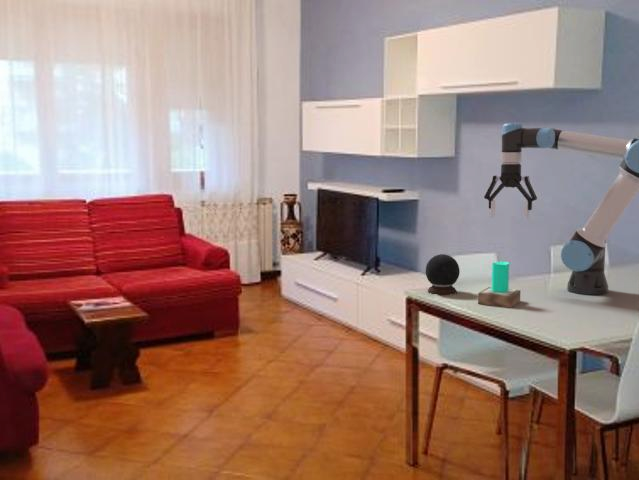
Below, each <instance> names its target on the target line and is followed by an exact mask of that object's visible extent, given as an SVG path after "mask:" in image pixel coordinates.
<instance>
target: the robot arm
mask: <svg viewBox="0 0 639 480" xmlns="http://www.w3.org/2000/svg"><path fill="white" fill-rule="evenodd" d="M526 148H527V149H553V150H560V151H565V152H566V151H567V152H573V153H578V154H583V155H588V156H590V155H591V156H595V157H601V158H607V159H612V160H613V159H614V160H619V161H621V163H620V165H619V166H618V167H619V173H618V175H617V177H616V178H615V180H614V181H613V183H612V184H611V185H610V187H609V188H608V190H607V192H606V193H605V195H604V196H603V198H602V199H601V201H600V202H599V204H598V205H597V207H596V209H594V212H593V213H592V214H591V216H590V217H589V219H588V220H587V221H586V223H585V224H584V226H583V227H581V228H577V229H576V231H575V232H574V234H573V235H572V237H571V238H570V239H569V241H568V242H566V243H565V244H564V245H562V246H563V247H562V248H561V251H560V258H561V261H562V264H563V265H564V266H565V267H566V268H567V269H569V270H570V271H571V274H570V277H569V279H568V281H567V284H566V285H567V286H566V290H567V291H568V292H571V293H573V294H574V293H575V294H578V295H579V294H581V295H591V296H592V295H595V296H596V295H597V296H598V295H605V294H608V293H609V284H608V281H607V277H606V273H605V265H606V263H605V262H606V244H607V240H606V239H607V237H608V236H609V234H610V233H611V231H612V229H613V228H614V227H615V225H616V224H617V222H618V221H619V219H621V217H622V215H623V213H624V212H625V211H626V209H627V208H628V206H629V205H630V204H631V203H632V200H633V199H634V197H635V196H636V195H637V193H638V192H639V138H634V137H633V138H632V139H630V140H629V139H622V138H617V137H616V138H615V137H608V136H602V135H595V134H589V133H582V132H576V131H570V130H560V129H556V128H552V127H533V128H532V127H530V128H529V127H528V128H525V127H523V124H522V122H521V123H515V122H514V123H513V122H512V123H510V122H509V123H504V124H503V125H502V131H501V155H500V157H501V162H500V163H502V164H501V165H500V167H501V168H500V176H498V175H493V176H492V180H491V183H490V184H489V186H488V189H487V191H486V193H485V194H484V196H483V198H484V199H485V200H488V209H490V218H496V217H495V216H496V200H494V199H495V198H496V197H497V196H498V195H499V194H500V192H501V191H502V190H503V189H504V188H512V189H513V188H514V189H515V188H517V189H518V191H519V192H520V193H521V194H522V196H523V197H524V198H525V199H526V201H525V216H524V217H525V220H528V219H530V211H532V209H533V201H537V200H538V196H537V195H536V193H535V190H534V188H533V186H532V184H531V181H530V175H525V176H522V165H521V162H522V151H523V150H522V149H526ZM499 181H500V184H499V186H498V187H497V188H495V186H496V185H497V182H499ZM521 181H523V182H524V184H525V186H526V188H527V190H528V192H527V191H526V189H525V188H524V187H523V185H522V184H521ZM494 189H495V190H494ZM493 190H494V192H493ZM492 192H493V193H492Z"/></svg>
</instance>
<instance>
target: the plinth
mask: <svg viewBox="0 0 639 480" xmlns="http://www.w3.org/2000/svg"><path fill="white" fill-rule="evenodd" d="M477 294H478V295H477V304H478V305H484V306H494V307H502V308H503V307H504V308H510V309H511V308H512V307H514V306H516V304H518V303H519V302H521V290H519V289H512V288H511V289H510V288H508V292H506V293H497V292H493V291H492V286H491V287H487V288H484V289H482V290H481V291H480V292H478V293H477Z"/></svg>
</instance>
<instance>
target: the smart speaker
mask: <svg viewBox="0 0 639 480" xmlns="http://www.w3.org/2000/svg"><path fill="white" fill-rule="evenodd" d="M460 272H461V271H460V266H459V263H458V262H457V260H456V259H455V258H454V257H453V256H451V255H449V254H446V253H445V254H444V253H443V254H437V255H434V256H433V257H432V258H430V259H429V260H428V262H427V264H426V266H425V275H426V279H427V280H428V282H429V283H430V284H431V286H429V288H428V289H427V293H428V294H430V293H431V294H430V295H434V294H439V295H438V296H451V295H450V294H453V295H456V294H457V293H458V292H457V291H458V290H457V288H456V287H454V286H453V285H455V283H457V281H458V279H459V276H460ZM455 293H456V294H455Z"/></svg>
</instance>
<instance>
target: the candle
mask: <svg viewBox="0 0 639 480" xmlns="http://www.w3.org/2000/svg"><path fill="white" fill-rule="evenodd" d="M491 266H492V267H491V287H492V291H493V292H497V293H506V292H508V289H509V283H510V282H509V281H510V277H509V276H510V262H507V261H497V262H495V261H494V262H493V261H492V263H491Z"/></svg>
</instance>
